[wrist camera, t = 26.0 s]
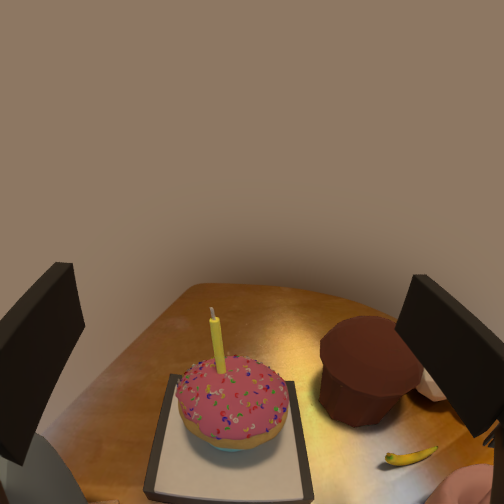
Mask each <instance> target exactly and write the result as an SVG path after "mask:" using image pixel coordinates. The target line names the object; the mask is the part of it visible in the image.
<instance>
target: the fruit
mask: <svg viewBox="0 0 504 504" xmlns="http://www.w3.org/2000/svg"><path fill="white" fill-rule="evenodd" d="M437 449H438V446H435V447H432V448H429V449H426V450H423V451H419V452H415V453H411V454H406V455H395V454H393V453H387V455H386V456H385V460H386V462H387V463H389V464H392V465H398V466H399V465H408V464H412V463H415V462H418V461H420V460H422V459H424V458H426V457H428V456H429V455H431V454H432V453H433V452H435V451H436V450H437Z"/></svg>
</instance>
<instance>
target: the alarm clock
mask: <svg viewBox="0 0 504 504" xmlns="http://www.w3.org/2000/svg"><path fill="white" fill-rule="evenodd" d="M0 480H1V483H2V486H3V488H4V491H5V494H6V496H7V499H8V501H9V504H119V501H118V500H111V501H102V502H91V503H88V502H87V501H86V499H85V497H84V495H83V493H82V491H81V489H80V487H79V485H78V484H77V482H76V480H75V479H74V477H73V475H72V473H71V472H70V470H69V469H68V467H67V466H66V465H65V463H64V462H63V460H62V459H61V457H60V456H59V455H58V453H57V452H56V450H55V449H54V448H53V447H52V446H51V444H50V443H49V442H48V441H47V440H46V439H45V438H44V437H42V436H40V435H39V434H37V433H35V434H34V436H33V439H32V442H31V444H30V447H29V450H28V453H27V455H26V458H25V461H24V464H23V467H22V466H20V465H18V464H15V463H13V462H11V461H9V460H7V459H5V458H2V456H1V455H0Z"/></svg>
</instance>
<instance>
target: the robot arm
mask: <svg viewBox="0 0 504 504" xmlns="http://www.w3.org/2000/svg"><path fill="white" fill-rule="evenodd" d="M84 328H85V323H84V319H83V314H82V310H81V306H80V301H79V296H78V291H77V287H76V281H75V275H74V269H73V263H62V262H61V263H60V262H55V263H54V264H53V265H52V266H51V267H50V268H49V269H48V270H47V271H46V272H45V273H44V274H43V275H42V276H41V277H40V278H39V279H38V280H37V281H36V282H35V283H34V284H33V285H32V286H31V288H30V289H28V291H27V292H26V293H25V294H24V295H23V296H22V297H21V298H20V299H19V300H18V301H17V302H16V304H15V305H14V306H13V307H12V308H11V309H10V310H9V311H8V312H7V314H6V315H5V316H4V317H3V318H2V319H1V321H0V455H1V456H2V458H5V459H7V460H9V461H11V462H13V463H15V464H18V465H20V466H22V467H23V464H24V461H25V458H26V455H27V453H28V450H29V447H30V444H31V442H32V439H33V436H34V434H35V431H36V429H37V426H38V424H39V421H40V419H41V416H42V414H43V412H44V409H45V407H46V405H47V403H48V400H49V398H50V396H51V393H52V391H53V389H54V387H55V385H56V383H57V381H58V379H59V376H60V374H61V372H62V370H63V368H64V366H65V364H66V362H67V360H68V358H69V356H70V354H71V352H72V350H73V348H74V347H75V345H76V343H77V341H78V339H79V337H80V335H81V333H82V332H83V330H84ZM394 330H395V331H396V332H397V333H398V335H399V336H400V337H401V338H402V340H403V341H404V342H405V344H406V345H407V346H408V347H409V349H410V350H411V351H412V353H413V354H414V355H415V356H416V358H417V359H418V360H419V362H420V363H421V364H422V366H423V367H424V368H425V370H426V371H427V372H428V374H429V375H430V376H431V378H432V379H433V380H434V382H435V383H436V384H437V386H438V387H439V388H440V390H441V391H442V393H443V394H444V395H445V397H446V398H447V400H448V401H449V402H450V404H451V405H452V407H453V408H454V409H455V411H456V412H457V414H458V415H459V417H460V418H461V420H462V421H463V422H464V424H465V425H466V427H467V428H468V430H469V431H470V433H471V434H472V436H473V437H474V438H475V437H477V436H479V435H481V434H482V433H484V432H486V431H487V430H488V429H489V428H490V427H491V425H492V424H493V423H494V422H495V421H496V419H497V420H498V421H499V422H500V423H499V424H498V425H497V426H496V427H495V429H494V430H493V431H492V432H491V433H490V434H489V435H488V436H487V438H486V439H485V440H484V442H483V446H485V445H486V444H487V443H488V442H489V441H490V440H491V439H492V438H494V439H493V440H492V441H491V442H490V443H489V445H488V447H492V448H494V467H493V479H492V489H491V497H490V504H504V343H503V342H502V341H501V340H500V339H499V338H498V337H497V336H496V335H495V334H494V333H493V332H492V331H491V330H490V329H488V328H487V327H486V326H485V325H484V324H483V323H482V322H481V321H480V320H479V319H478V318H477V317H475V316H474V315H473V314H472V313H471V312H470V311H469V310H467V309H466V308H465V307H464V306H463V305H462V304H461V303H459V302H458V301H457V300H456V299H455V298H454V297H453V296H451V295H450V294H449V293H448V292H447V291H445V290H444V289H443V288H442V287H441V286H439V285H438V284H437V283H436V282H435V281H433V280H432V279H431V278H430V277H428V276H427V275H413V277H412V281H411V283H410V287H409V290H408V293H407V296H406V298H405V301H404V304H403V307H402V310H401V313H400V315H399V318H398V321H397V323H396V326H395V328H394ZM0 504H9V501H8V499H7V496H6V494H5V491H4V488H3V486H2V483H1V480H0Z"/></svg>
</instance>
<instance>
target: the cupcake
mask: <svg viewBox="0 0 504 504" xmlns="http://www.w3.org/2000/svg"><path fill="white" fill-rule="evenodd" d="M210 310H211V315H212V318H211V319H210V328H211V335H212V342H213V348H214V355H215V357H212V358H211V359H210V360H208V361H207V360H204V361H203V362H199V364H198V365H195V364H193V365H192V368H190V369H191V370H190V369H188V370H189V371H188V370H187V371H186V372H185V373H186V374H185V373H184V374H185V375H183V376H182V379H181V380H180V379H178V383H179V384H177V389H176V392H175V396H176V397H177V398H178V410H179V414H180V416H181V418H182V420H183V423H184V425H185V426H186V428H187V429H188V430H189V431H190V432H191V433H192V434H194V435H195V436H197V437H199V438H200V439H202V440H204V441H206V442H208V443H209V444H210V445H211V446H213V447H214V448H216V449H219V450H222V451H227V452H236V451H241V450H247V449H252V448H255V447H257V446H259V445H261V444H263V443H265V442H267V441H269V440H271V439H273V438H274V437H276V436H277V434H278V433H279V432H280V431H281V429H282V428H283V426H284V424H285V422H286V419H287V415H288V408H289V394H288V389H287V386H286V383H285V381H284V380H283V379H282V377H280V376H279V373H277V374H278V375H277V374H276V373H275V371H274V370H271V369H270V366H269V367H267V366H265V365H263V363H262V362H257V360H253V359H250V358H249V357H248V356H246V357H244V356H243V357H240V356H238V355H236V356H235V355H234V356H224V351H223V343H222V335H221V327H220V320H219V318H217V317H215V315H214V310H213V308H212V307H210ZM261 363H262V364H261ZM194 365H195V366H194ZM193 366H194V367H193ZM179 381H180V382H179Z"/></svg>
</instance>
